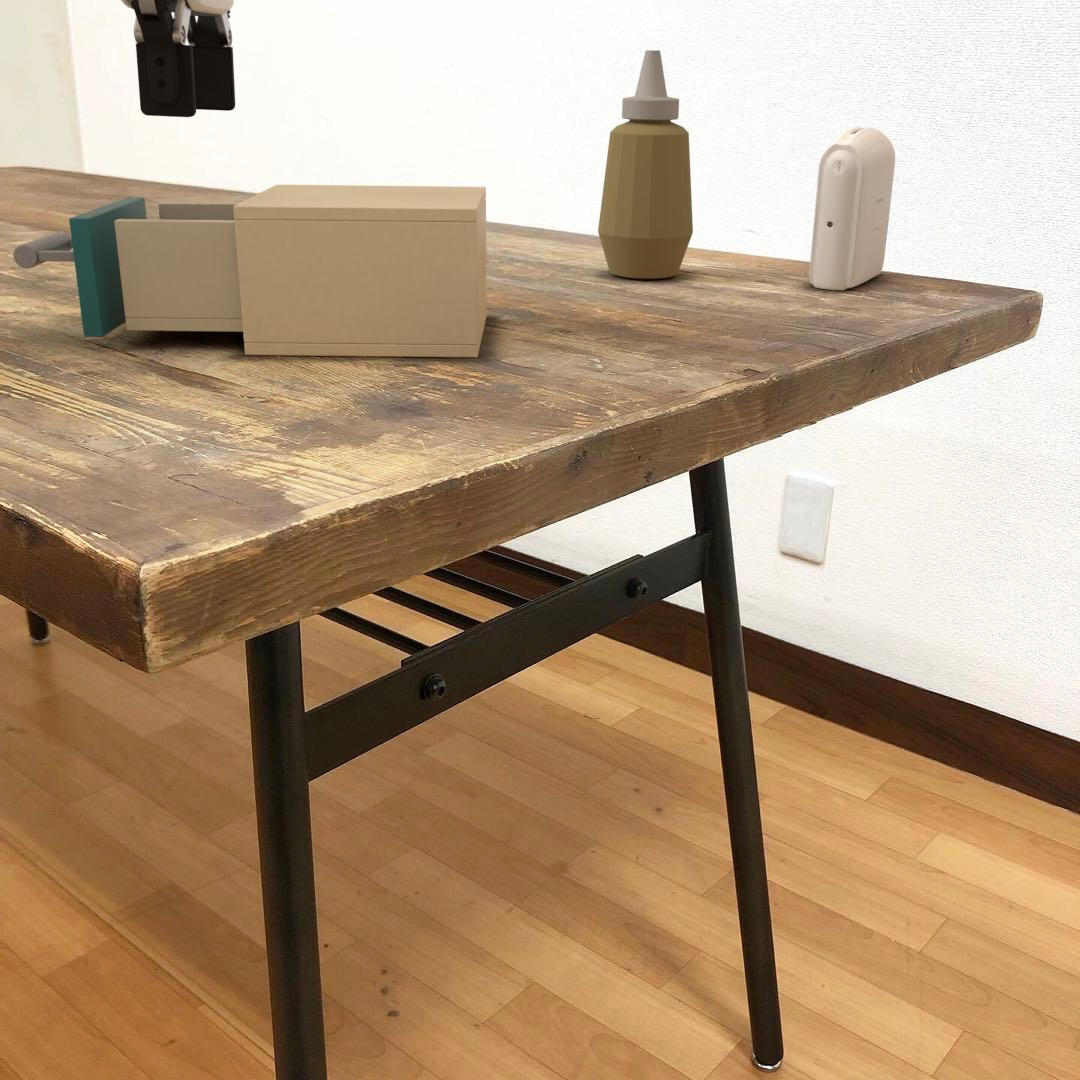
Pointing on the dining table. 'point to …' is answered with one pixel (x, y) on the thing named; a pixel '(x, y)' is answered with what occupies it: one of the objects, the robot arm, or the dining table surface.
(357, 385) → the dining table surface
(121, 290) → the drawer
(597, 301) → the dining table surface
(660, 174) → the squeeze bottle
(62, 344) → the dining table surface
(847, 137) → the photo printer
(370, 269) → the drawer cabinet
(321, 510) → the dining table surface
